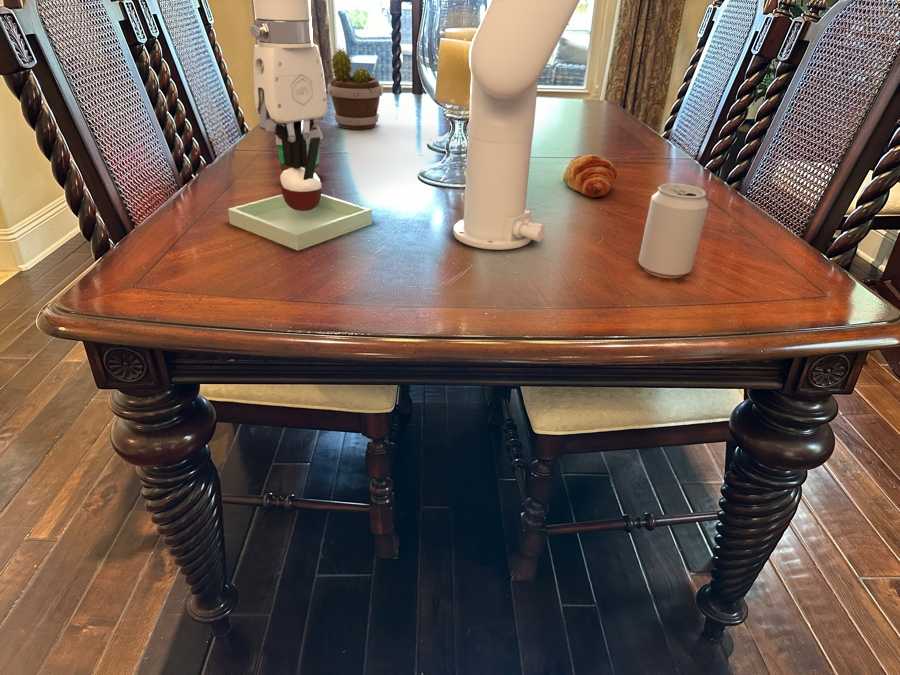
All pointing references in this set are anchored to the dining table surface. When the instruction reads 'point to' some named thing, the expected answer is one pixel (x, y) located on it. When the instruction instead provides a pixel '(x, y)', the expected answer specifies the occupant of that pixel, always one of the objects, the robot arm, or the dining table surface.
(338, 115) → the flowerpot
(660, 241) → the can
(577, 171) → the croissant
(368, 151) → the dining table surface
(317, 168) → the food container
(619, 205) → the dining table surface
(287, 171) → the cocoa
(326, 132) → the dining table surface
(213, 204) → the dining table surface
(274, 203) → the tray
